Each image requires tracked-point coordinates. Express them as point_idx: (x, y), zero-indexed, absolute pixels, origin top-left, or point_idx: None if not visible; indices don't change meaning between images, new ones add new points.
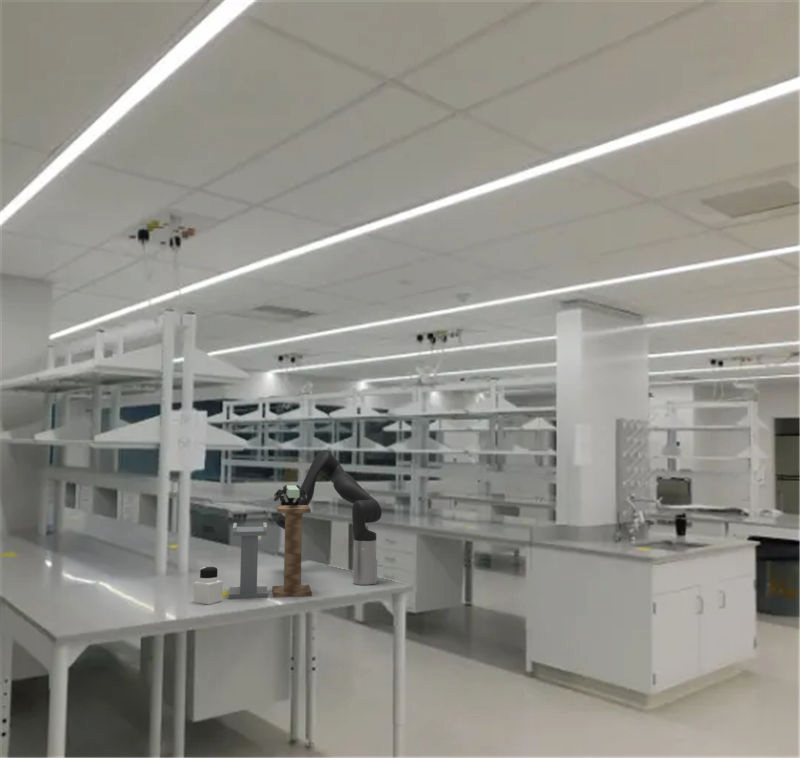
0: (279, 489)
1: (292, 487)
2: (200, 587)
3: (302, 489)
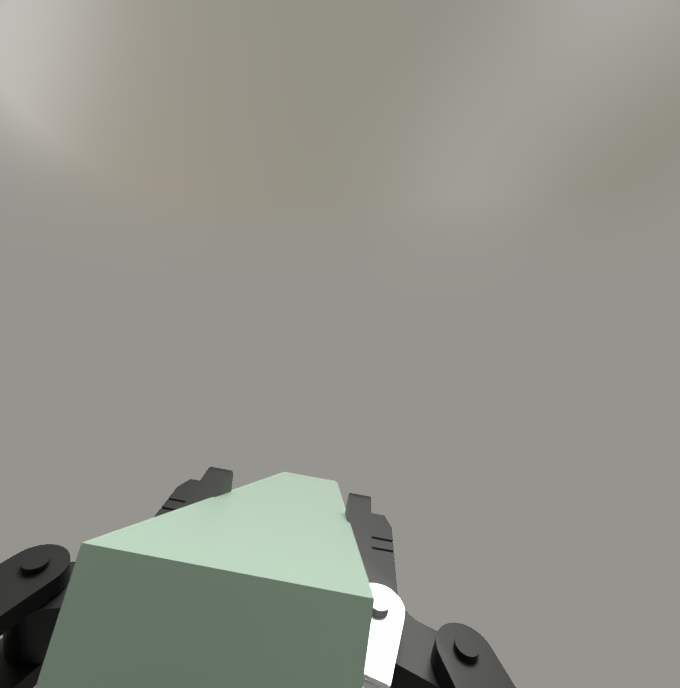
0: (465, 627)
1: (295, 490)
2: None
3: (55, 550)
